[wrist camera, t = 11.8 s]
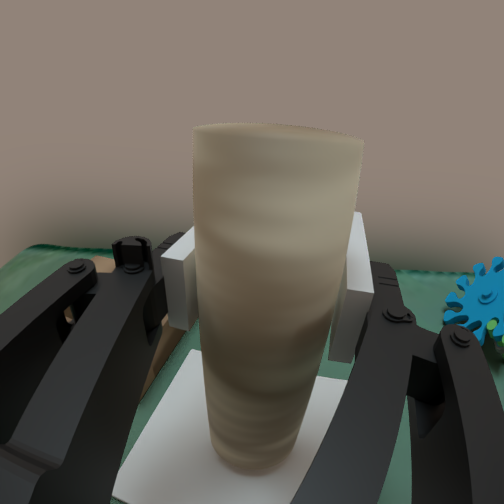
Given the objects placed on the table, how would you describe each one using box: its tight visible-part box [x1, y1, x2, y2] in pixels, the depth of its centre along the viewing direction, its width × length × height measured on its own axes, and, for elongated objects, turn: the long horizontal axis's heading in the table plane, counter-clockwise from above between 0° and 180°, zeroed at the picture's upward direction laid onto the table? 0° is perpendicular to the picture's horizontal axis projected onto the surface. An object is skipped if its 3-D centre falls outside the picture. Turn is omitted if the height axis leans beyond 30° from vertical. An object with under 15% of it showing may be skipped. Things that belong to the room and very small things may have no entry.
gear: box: [444, 257, 504, 359], centre depth 22 cm, size 11×6×10 cm
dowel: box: [193, 123, 364, 470], centre depth 11 cm, size 4×4×14 cm
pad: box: [112, 349, 347, 504], centre depth 15 cm, size 12×12×1 cm
